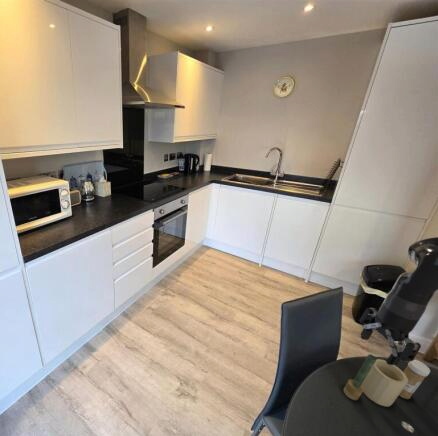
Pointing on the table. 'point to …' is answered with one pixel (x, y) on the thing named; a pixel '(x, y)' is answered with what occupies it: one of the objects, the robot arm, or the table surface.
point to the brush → (359, 379)
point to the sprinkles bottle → (414, 377)
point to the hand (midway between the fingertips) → (376, 350)
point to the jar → (384, 383)
